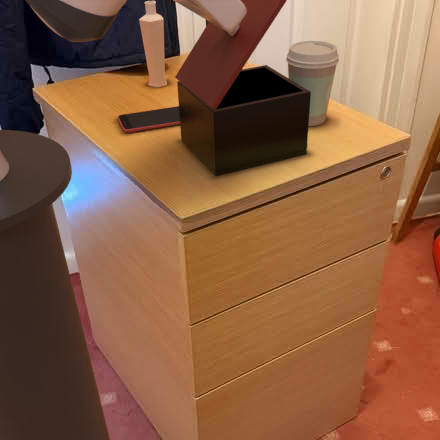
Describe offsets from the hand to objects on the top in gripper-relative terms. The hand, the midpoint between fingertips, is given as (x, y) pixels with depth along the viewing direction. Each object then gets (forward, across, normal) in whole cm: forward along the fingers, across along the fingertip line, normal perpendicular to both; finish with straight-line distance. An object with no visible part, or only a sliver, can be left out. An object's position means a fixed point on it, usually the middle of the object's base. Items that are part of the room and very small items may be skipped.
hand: (232, 29), depth 80 cm
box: (+14, +1, +12) cm, 18 cm away
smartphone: (+8, +17, +17) cm, 26 cm away
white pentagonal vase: (+12, +34, +13) cm, 39 cm away
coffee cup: (+25, +5, +1) cm, 25 cm away
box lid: (+1, +1, +2) cm, 2 cm away
